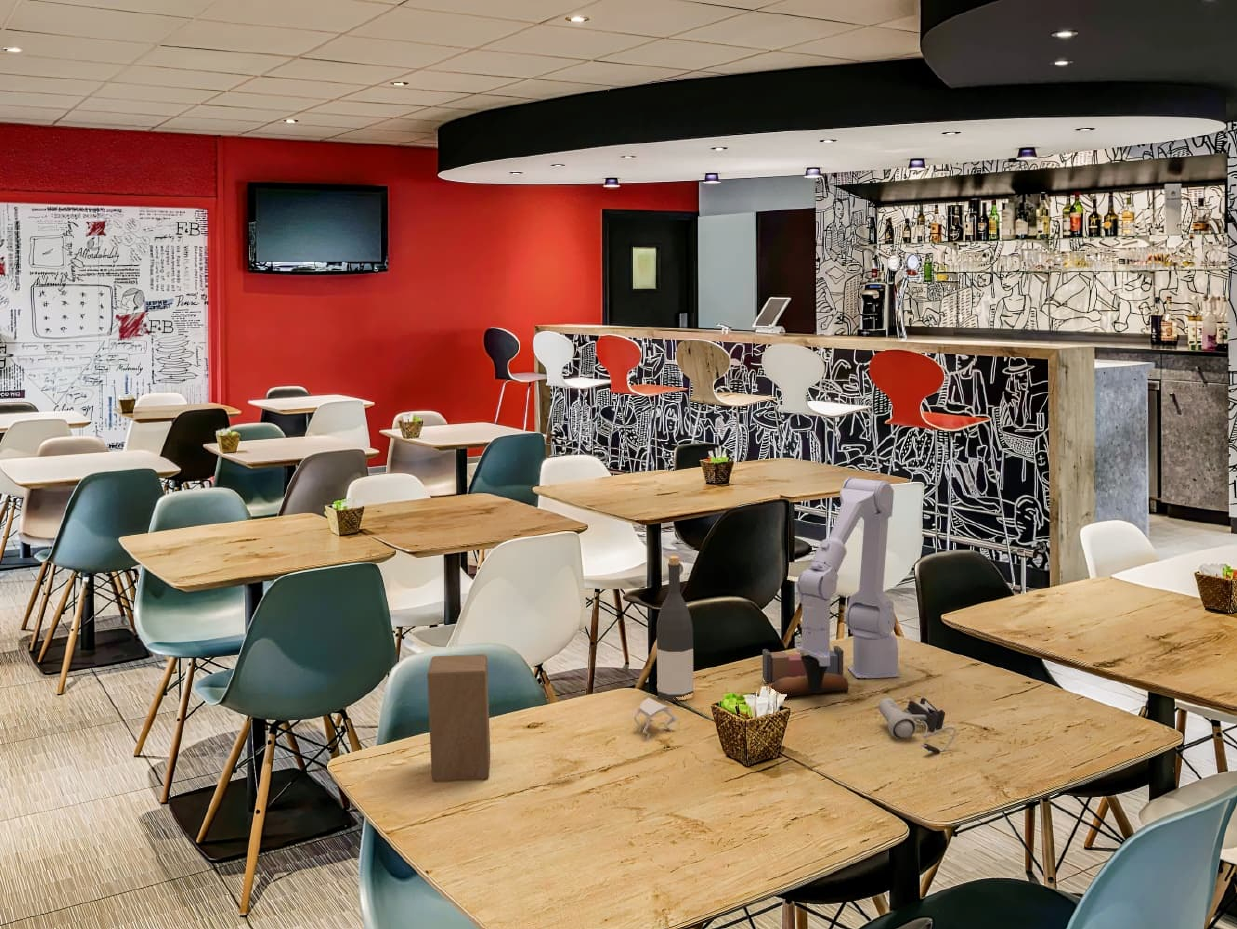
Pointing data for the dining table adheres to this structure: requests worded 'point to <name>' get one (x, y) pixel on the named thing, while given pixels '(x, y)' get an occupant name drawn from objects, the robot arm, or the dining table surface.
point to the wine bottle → (674, 641)
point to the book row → (795, 664)
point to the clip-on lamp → (904, 723)
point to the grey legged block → (653, 713)
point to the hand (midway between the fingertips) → (814, 690)
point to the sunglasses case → (801, 686)
